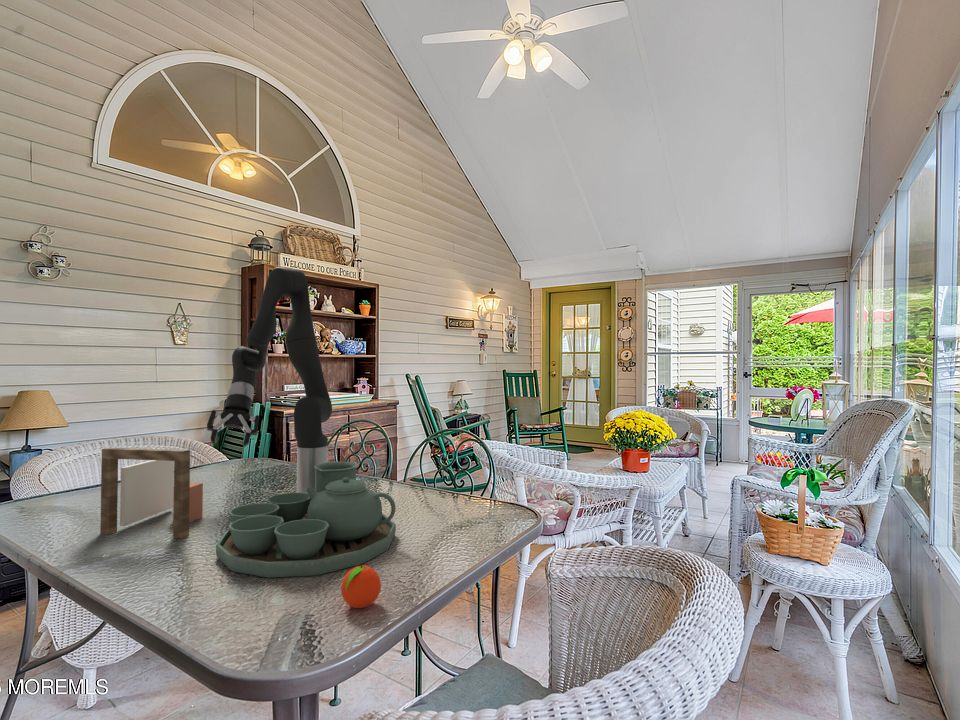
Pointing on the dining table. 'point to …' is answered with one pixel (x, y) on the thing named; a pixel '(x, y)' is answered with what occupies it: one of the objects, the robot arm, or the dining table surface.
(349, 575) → the clementine
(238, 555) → the tea set
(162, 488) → the door
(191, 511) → the salmon orange block
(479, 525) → the dining table surface
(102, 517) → the door frame
